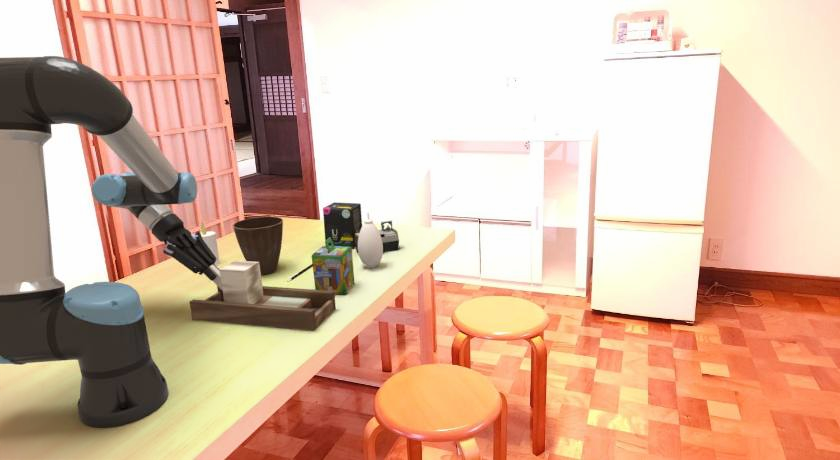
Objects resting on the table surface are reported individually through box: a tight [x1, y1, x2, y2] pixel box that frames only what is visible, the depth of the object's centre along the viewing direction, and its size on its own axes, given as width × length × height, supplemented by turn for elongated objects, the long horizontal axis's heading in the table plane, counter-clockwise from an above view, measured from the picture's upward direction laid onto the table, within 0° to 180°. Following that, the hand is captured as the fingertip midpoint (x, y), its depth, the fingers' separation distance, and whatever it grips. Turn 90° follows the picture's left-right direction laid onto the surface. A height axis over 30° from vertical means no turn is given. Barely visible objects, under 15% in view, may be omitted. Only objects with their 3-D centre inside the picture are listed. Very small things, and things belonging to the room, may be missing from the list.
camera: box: [355, 220, 400, 254], centre depth 188 cm, size 15×8×10 cm, turn 110°
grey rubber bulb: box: [357, 212, 384, 269], centre depth 172 cm, size 8×8×18 cm
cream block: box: [219, 260, 264, 304], centre depth 142 cm, size 7×7×10 cm
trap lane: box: [189, 285, 337, 332], centre depth 142 cm, size 13×34×5 cm, turn 75°
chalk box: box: [311, 237, 356, 295], centre depth 156 cm, size 9×9×15 cm
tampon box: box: [322, 202, 363, 250], centre depth 197 cm, size 11×9×15 cm
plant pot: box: [232, 216, 284, 276], centre depth 173 cm, size 15×15×16 cm
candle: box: [200, 221, 221, 267], centre depth 181 cm, size 6×6×15 cm
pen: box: [287, 263, 313, 283], centre depth 173 cm, size 1×19×1 cm, turn 161°
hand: (226, 286), depth 144 cm, fingers closed
